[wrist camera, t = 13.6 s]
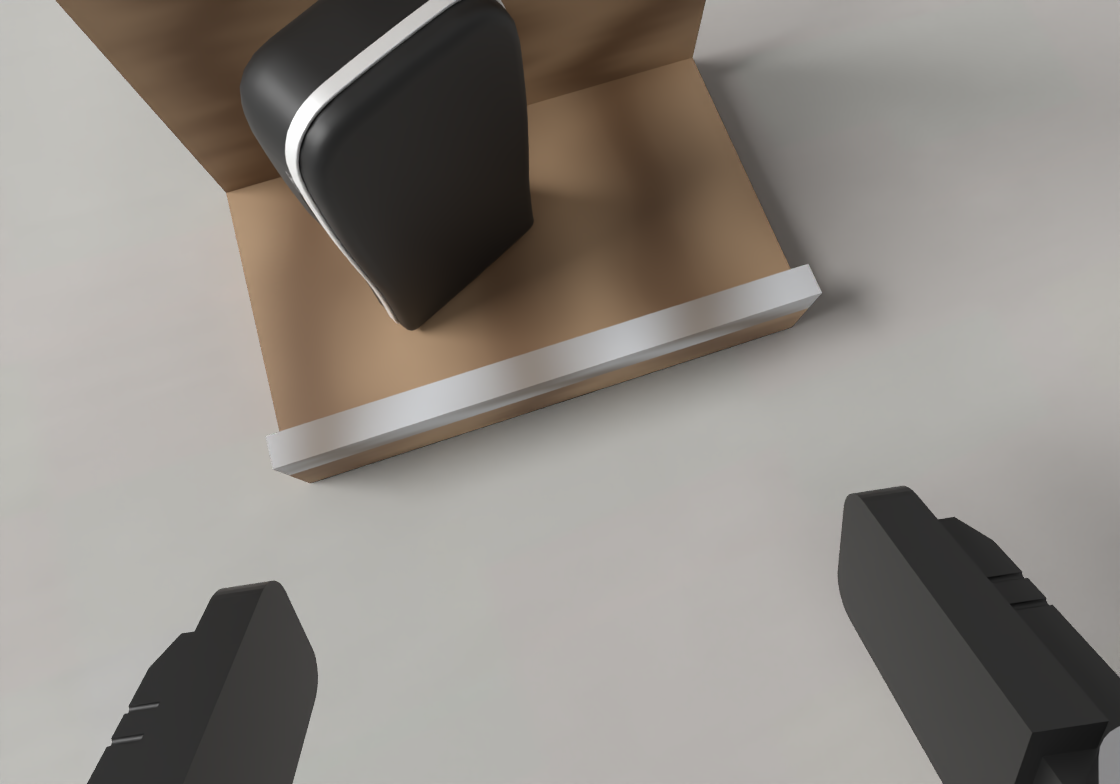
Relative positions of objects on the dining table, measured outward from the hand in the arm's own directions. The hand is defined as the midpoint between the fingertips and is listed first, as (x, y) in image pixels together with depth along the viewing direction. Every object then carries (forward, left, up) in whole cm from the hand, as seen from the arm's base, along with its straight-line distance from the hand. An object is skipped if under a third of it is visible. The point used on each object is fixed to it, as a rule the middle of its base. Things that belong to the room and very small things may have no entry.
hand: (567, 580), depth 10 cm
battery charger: (+1, -13, -14) cm, 19 cm away
